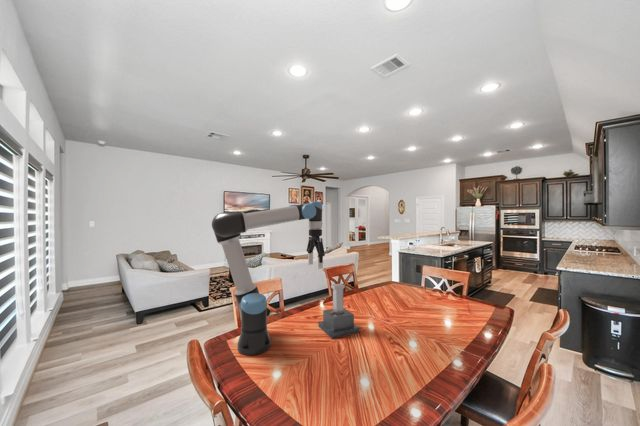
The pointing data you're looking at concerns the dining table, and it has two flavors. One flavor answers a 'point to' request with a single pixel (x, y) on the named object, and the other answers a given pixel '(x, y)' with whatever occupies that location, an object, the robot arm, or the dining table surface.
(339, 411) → the dining table surface
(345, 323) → the stand base
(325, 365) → the dining table surface
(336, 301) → the column
